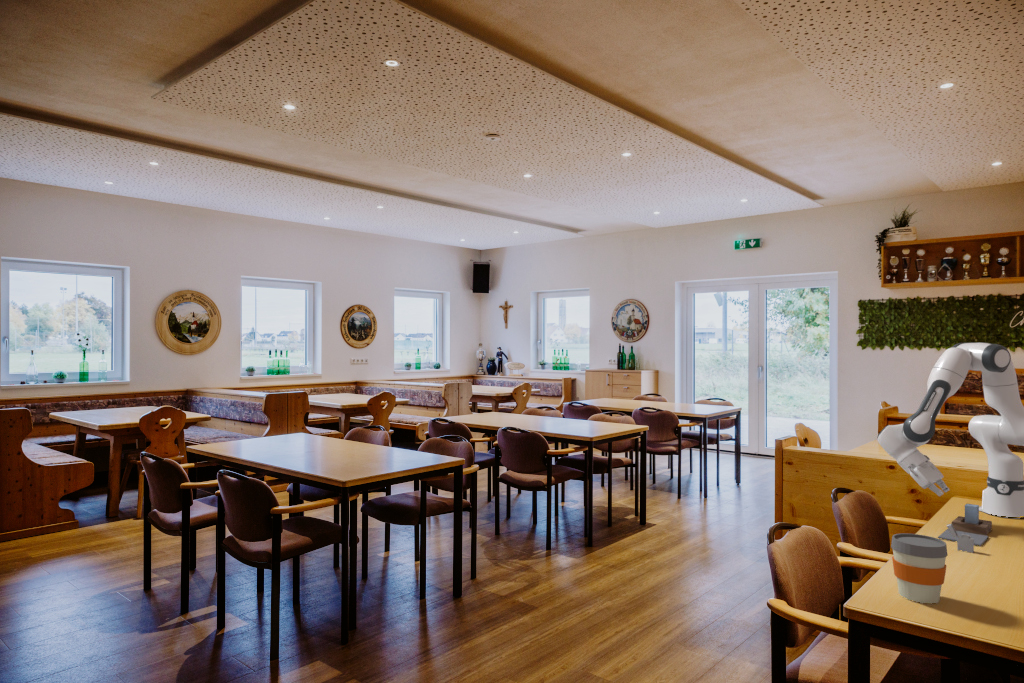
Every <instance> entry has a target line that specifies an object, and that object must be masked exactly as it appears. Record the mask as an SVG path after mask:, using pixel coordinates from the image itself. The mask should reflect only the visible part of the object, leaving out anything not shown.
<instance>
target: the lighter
mask: <svg viewBox="0 0 1024 683" xmlns="http://www.w3.org/2000/svg"><path fill="white" fill-rule="evenodd" d="M946 527H947V529H949V531H950V533H951V535H952V537H953V538H955V537H957V542H956V543H957V547H956V548H957V551H959V550H962V551H961V552H964V551H967V552H966V553H970V552H971V554H973V553H974V552H975V548H974V547H975V545H974V539H973V538H971V536H969V535H966V534H962V536H958V534H957V532H956V530H955V528H954V527H953V525H952V523H949V524H946Z"/></svg>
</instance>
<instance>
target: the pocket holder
mask: <svg viewBox="0 0 1024 683" xmlns="http://www.w3.org/2000/svg"><path fill="white" fill-rule="evenodd" d="M951 524H952V525H953V527H954V528H955V530H956V531H962V532H968V533H974V534H979V535H985V536H988V535H989V533H991V531H992V530H993V522H992V520H986V519H980V518H979V525H978V524H972V523H965V516H962V515H961V516H960V515H958V516H957V517H956V518H955V519H954V520H952V521H951ZM991 529H992V530H991Z"/></svg>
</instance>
